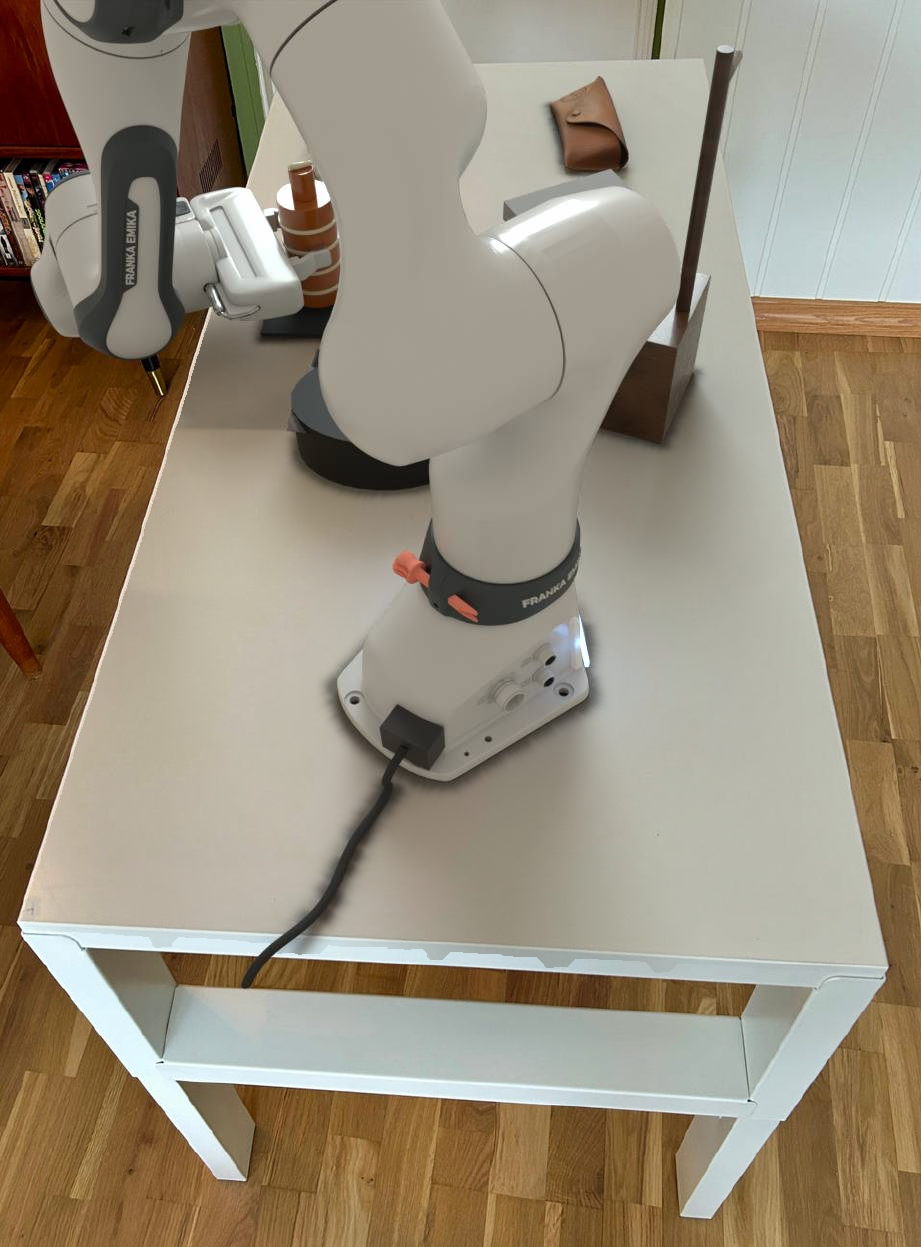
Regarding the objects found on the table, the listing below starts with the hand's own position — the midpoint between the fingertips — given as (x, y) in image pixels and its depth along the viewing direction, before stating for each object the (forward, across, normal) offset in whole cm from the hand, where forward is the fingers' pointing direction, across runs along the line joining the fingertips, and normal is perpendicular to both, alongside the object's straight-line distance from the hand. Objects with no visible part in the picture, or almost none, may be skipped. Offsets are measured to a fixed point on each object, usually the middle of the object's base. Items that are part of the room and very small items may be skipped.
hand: (318, 235), depth 117 cm
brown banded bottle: (-1, 0, +7) cm, 7 cm away
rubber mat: (-1, 0, +9) cm, 9 cm away
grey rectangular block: (+24, 0, +6) cm, 25 cm away
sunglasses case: (+43, +20, +9) cm, 49 cm away
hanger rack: (+24, -28, +9) cm, 37 cm away
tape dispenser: (-2, -24, +9) cm, 26 cm away
